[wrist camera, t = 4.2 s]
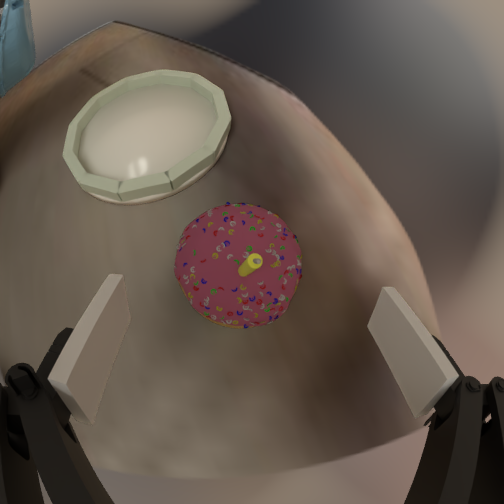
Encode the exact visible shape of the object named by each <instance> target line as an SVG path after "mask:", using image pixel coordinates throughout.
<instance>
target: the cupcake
mask: <svg viewBox="0 0 504 504" xmlns="http://www.w3.org/2000/svg"><path fill="white" fill-rule="evenodd" d="M180 238H181V239H180V242H179V244H178V245H177V246H176V248H177V249H178V250H177V255H176V259H175V264H174V272H175V276H176V278H177V280H178V282H179V284H180V287H181V289H182V291H183V293H184V294H185V296H186V298H187V299H188V301H189V303H190V304H191V305H192V307H193V308H194V309H196V310H197V311H198V312H199V313H200V314H201V315H202V316H204V317H205V318H206V319H208V320H210V321H211V322H213V323H216V324H218V325H222V326H226V327H230V328H250V327H254V326H262V325H266V324H270V323H272V322H273V321H274V320H276V319H277V318H279V317H280V316H281V315H282V314H283V313H284V312H285V311H286V310H287V308H288V305H289V303H290V301H291V298H292V297H293V295H294V293H295V291H296V288H297V286H298V284H299V281H300V279H301V277H302V275H301V265H302V264H301V258H302V256H303V255H302V256H301V249H300V247H299V245H298V240H297V239H296V238H297V237H296V236H295V235H293V233H292V232H291V230H290V229H289V228H288V226H287V225H286V223H285V222H284V221H283V220H282V219H281V218H279V217H278V215H277V214H273V213H271V212H270V211H267V210H265V209H263V208H261V207H260V206H254V205H252V204H249V205H248V203H246V204H245V203H238V204H230V203H229V202H227V205H223V206H219V207H215V208H212V209H210V210H208V211H206V212H205V213H203V214H202V215H200V216H199V217H198V218H196V219H195V220H194V221H192V222H191V223H190V224H189V225H188V226H187V227H186V228H185V230H184V232H183V234H182V236H181V237H180Z"/></svg>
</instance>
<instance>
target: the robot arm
mask: <svg viewBox="0 0 504 504" xmlns="http://www.w3.org/2000/svg"><path fill="white" fill-rule="evenodd" d="M35 58H36V53H35V44H34V35H33V27H32V20H31V11H30V3H29V0H0V97H3V96H5V94H6V92H7V91H8V90H9V89H11V88H12V87H13V86H14V85H16V84H17V83H18V82H20V81H21V80H22V79H24V78H25V77H26V76H27V75H28V74H29V73H30V72H31V70H32V68H33V66H34V63H35ZM130 321H131V315H130V310H129V305H128V299H127V294H126V288H125V282H124V275H121V274H109V275H108V276H107V278H106V279H105V281H104V282H103V284H102V285H101V287H100V288H99V290H98V291H97V293H96V295H95V296H94V298H93V299H92V301H91V302H90V304H89V306H88V307H87V309H86V310H85V312H84V314H83V315H82V317H81V319H80V320H79V322H78V324H77V325H76V327H75V329H72V328H67V327H66V328H65V329H64V330H63V331H61V332H60V333H59V334H58V335H57V337H56V338H55V340H54V342H53V345H51V347H50V349H49V352H47V354H46V356H45V357H44V359H43V361H42V363H41V365H40V366H39V368H38V370H37V372H36V373H35V371H34V369H33V368H32V367H31V366H30V365H29V364H26V363H18V364H16V365H14V366H12V367H11V368H10V369H9V370H8V372H7V374H6V376H5V383H6V384H7V385H8V387H3V386H2V385H1V383H0V504H44V500H43V496H42V492H41V488H40V483H39V477H38V472H39V475H40V477H41V479H42V482H43V484H44V487H45V489H46V491H47V493H48V495H49V497H50V499H51V501H52V503H53V504H114V502H113V501H112V499H111V498H110V496H109V495H108V493H107V492H106V490H105V488H104V487H103V485H102V484H101V482H100V480H99V479H98V477H97V475H96V473H95V472H94V470H93V468H92V466H91V464H90V463H89V461H88V459H87V457H86V455H85V453H84V451H83V449H82V447H81V445H80V443H79V441H78V439H77V436H76V434H75V432H74V430H73V427H72V425H71V423H70V422H69V418H70V415H71V414H72V415H73V417H74V418H75V419H76V421H79V422H82V423H86V424H89V425H93V424H94V421H95V417H96V414H97V411H98V408H99V405H100V402H101V399H102V396H103V393H104V390H105V387H106V384H107V381H108V378H109V375H110V372H111V370H112V367H113V364H114V362H115V359H116V356H117V354H118V351H119V348H120V346H121V343H122V341H123V338H124V336H125V333H126V331H127V328H128V326H129V324H130ZM367 327H368V329H369V331H370V333H371V334H372V336H373V338H374V340H375V342H376V344H377V345H378V347H379V349H380V351H381V353H382V355H383V357H384V358H385V360H386V362H387V364H388V366H389V368H390V370H391V372H392V374H393V376H394V378H395V380H396V382H397V383H398V385H399V387H400V389H401V391H402V393H403V396H404V398H405V400H406V402H407V404H408V406H409V408H410V410H411V412H412V414H413V416H414V418H418V417H421V416H423V415H426V414H427V413H428V412H429V411H430V410H431V409H432V408H433V407H434V408H435V410H436V411H435V412H434V413H433V415H432V416H431V417H430V418H429V419H428V420H427V421H426V422H425V424H424V426H426V425H427V424H428V423H429V422H430V421H431V424H430V425H429V426H428V427H430V428H429V432H428V436H427V439H426V443H425V447H424V450H423V453H422V457H421V460H420V463H419V466H418V469H417V472H416V475H415V477H414V480H413V483H412V485H411V488H410V491H409V493H408V495H407V498H406V500H405V503H404V504H504V379H503V378H501V377H494V378H493V379H492V380H491V382H490V383H489V384H480V382H479V381H478V380H477V379H476V378H474V377H471V376H466V377H465V376H464V374H463V373H462V371H461V370H460V368H459V367H458V365H457V364H456V363H455V361H454V360H453V358H452V357H451V356H450V354H449V352H448V351H447V350H446V348H445V347H444V345H443V344H442V343H441V341H439V340H438V339H437V338H436V337H435V336H433V335H432V336H431V334H430V333H429V332H428V330H427V329H426V327H425V326H424V325H423V323H422V322H421V321H420V319H419V318H418V317H417V316H416V314H415V313H414V312H413V310H412V309H411V308H410V307H409V305H408V304H407V303H406V301H405V300H404V299H403V298H402V296H401V295H400V294H399V293H398V291H397V290H396V289H395V288H394V287H382V290H381V293H380V295H379V298H378V301H377V303H376V306H375V308H374V311H373V313H372V316H371V318H370V320H369V323H368V325H367ZM490 413H491V419H490V420H489V421H488V422H487V423H486V421H485V418H487V416H488V415H489V414H490ZM37 470H38V472H37Z"/></svg>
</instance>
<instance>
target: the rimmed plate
mask: <svg viewBox="0 0 504 504" xmlns="http://www.w3.org/2000/svg"><path fill="white" fill-rule="evenodd" d="M230 128H231V115H230V111H229V108H228V105H227V102H226V98H225V95H224V92H223V91H222V89H220V88H219V87H217V86H216V85H214V84H213V83H211V82H210V81H208V80H207V79H205V78H203V77H202V76H200V75H199V74H197V73H190V72H183V71H175V70H165V69H163V70H162V69H161V70H155V71H150V72H146V73H141V74H137V75H133V76H128V77H126V78H123V79H121V80H119V81H118V82H116V83H114V84H112V85H111V86H109V87H107V88H105V89H104V90H102V91H101V92H99V93H97V94H96V95H94V96H93V97H91V99H90V100H89V101H88V102H87V103H86V104H85V106H84V107H83V108H82V109H81V110H80V112H79V113H78V114H77V115H76V117H75V118H74V119H73V120H72V122H71V123H70V125H69V127H68V131H67V136H66V140H65V145H64V150H63V158H64V160H65V162H66V163H67V165H68V167H69V169H70V170H71V172H72V174H73V175H74V177H75V179H76V180H77V182H78V183H79V185H80V186H81V188H82V189H83V190H84V191H86V192H87V193H88V194H90V195H91V196H93V197H95V198H96V199H99V200H101V201H104V202H107V203H111V204H117V205H139V204H145V203H151V202H154V201H158V200H162V199H164V198H167V197H169V196H172V195H175V194H176V193H178V192H180V191H182V190H184V189H186V188H188V187H189V186H191V185H192V184H194V183H195V182H197V181H198V180H199V179H200V178H202V177H203V176H204V175H205V174H206V173H207V172H208V171H209V170H210V169H211V168H212V167H213V166H214V165H215V163H216V162H217V161H218V159H219V158H220V156H221V154H222V152H223V151H224V148H225V145H226V143H227V138H228V133H229V131H230Z"/></svg>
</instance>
